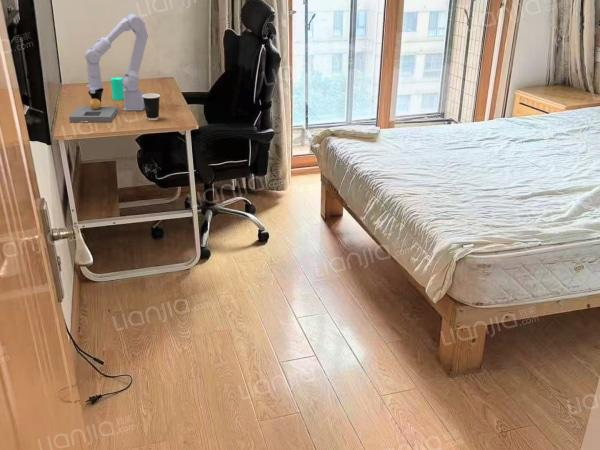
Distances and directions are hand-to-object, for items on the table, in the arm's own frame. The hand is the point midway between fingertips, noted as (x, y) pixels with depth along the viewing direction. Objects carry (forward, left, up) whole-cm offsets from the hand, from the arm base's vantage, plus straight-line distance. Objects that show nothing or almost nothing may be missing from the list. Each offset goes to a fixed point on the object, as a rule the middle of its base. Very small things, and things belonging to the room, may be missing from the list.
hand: (97, 105), depth 289 cm
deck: (0, +9, -3) cm, 10 cm away
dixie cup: (-27, +12, -4) cm, 30 cm away
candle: (-5, -26, -4) cm, 26 cm away
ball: (0, +5, +2) cm, 5 cm away
